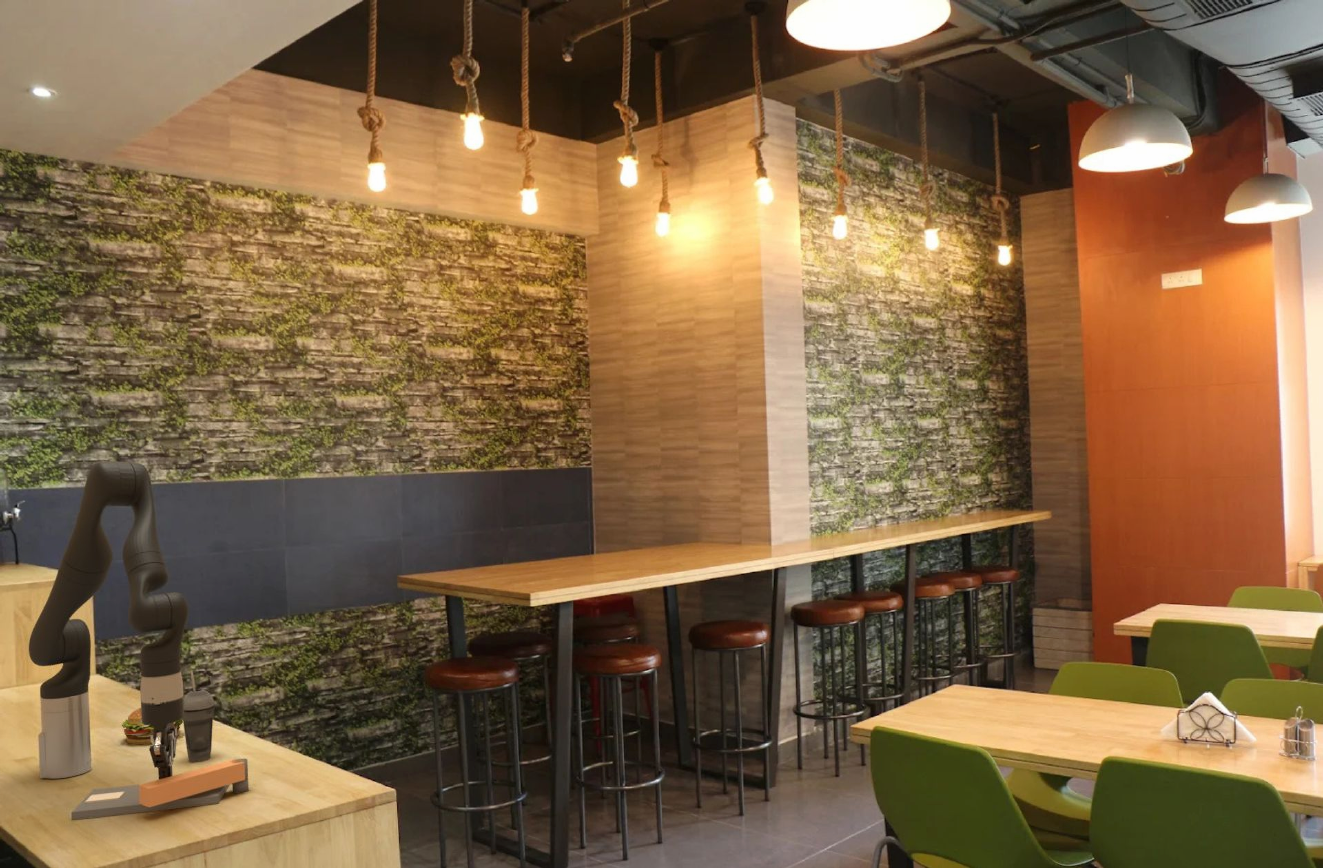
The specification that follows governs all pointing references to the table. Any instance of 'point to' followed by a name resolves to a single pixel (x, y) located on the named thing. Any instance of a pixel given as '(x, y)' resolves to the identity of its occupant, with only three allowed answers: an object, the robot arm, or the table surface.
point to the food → (141, 729)
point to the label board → (128, 801)
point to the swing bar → (192, 782)
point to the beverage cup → (198, 723)
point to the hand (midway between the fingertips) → (165, 785)
